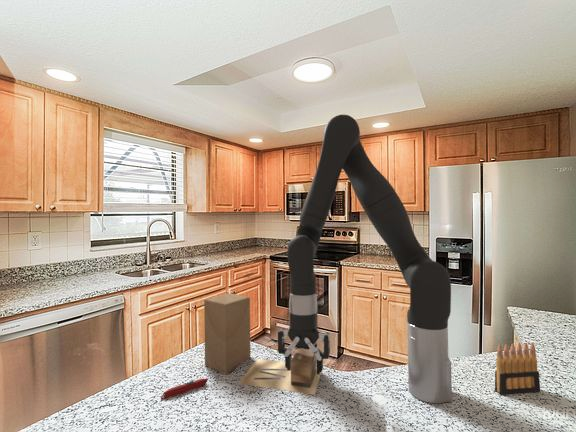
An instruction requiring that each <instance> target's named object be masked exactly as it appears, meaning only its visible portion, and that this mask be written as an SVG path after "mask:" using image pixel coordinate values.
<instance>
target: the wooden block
mask: <svg viewBox="0 0 576 432" xmlns="http://www.w3.org/2000/svg"><path fill="white" fill-rule="evenodd" d="M203 303H204V304H203V306H204V307H203V311H204V313H203V314H204V318H203V319H204V324H203V325H204V326H203V327H204V328H203V329H204V365H205V366H206V367H209V368H210V369H212V370H215V371H217V372H219V373H220V374H221V373H222V374H224V375H229V374H230V373H232V372H234V371H236V369H237V368H238V367H239V366H240V365H241V363H243V362H244V361H247V360H249V359H250V358H251V299H250V297H249V296H245V295H240V294H235V293H224V294H220V295H217V296H212V297H208V298H205V299H204V301H203Z"/></svg>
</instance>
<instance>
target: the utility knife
mask: <svg viewBox="0 0 576 432" xmlns="http://www.w3.org/2000/svg"><path fill="white" fill-rule="evenodd" d="M208 380H209V378H200V379H198V380H191V381H189V382H187V383H186V382H185V383H184V384H180V385H177V386H174V387H171V388H169V389H167V390H166V391H164V392H163V393H162V395H161V397H160V400H166V399H168V398H171V397H175V396H178V395H182V394H185V393H187V392H190V391H193V390H197V389H199V388H203V387H205V386H206V385H207V383H208Z"/></svg>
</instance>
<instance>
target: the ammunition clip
mask: <svg viewBox="0 0 576 432" xmlns="http://www.w3.org/2000/svg"><path fill="white" fill-rule="evenodd" d="M536 351H537V349H536V346H535V344H534V342H531V343H530V345H529V346H528V343H527V342H525V343H524V344H523V348H522V345H521V343H520V342H518V343H517V346H515V344H514V343H511V345H510V347H509V345H508V343H506V344H504V349H503V347H502V344H501V343H499V344H498V345H497V352H496V364H495V365H496V366H495V368H496V370H495V371H494V391H495V392H497V393H498V394H499V395H501V396H503V395H506V396H507V395H519V394H520V395H521V394H531V393H532V394H533V393H541V383H540V371H539V370H538V360H537V353H536Z"/></svg>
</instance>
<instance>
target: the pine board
mask: <svg viewBox="0 0 576 432" xmlns="http://www.w3.org/2000/svg"><path fill="white" fill-rule="evenodd" d="M321 374H322V372H320V374H317V365H316V373H315V376H314V379H313V382H312V385H311V387H310V388H308V387H301V386H294V385H291V370H290V371H288V370H287V368H286V367H285V361H281V360H280V361H279V360H278V361H277V360H270V359H263V358H257V359H256V361H255V362H254V363H253V364H252V366H251V367H250V368H249V369H248V371H247V372H246V373H245V374H244V376H242V378H241V379H240V380H239V381H238V384H239V385H246V386H252V387H259V388H267V389H272V390H279V391H280V390H281V391H289V392H293V393H300V394H301V393H302V394H310V395H315V394H316V391H317V388H318V385H319V382H320V378H321V376H322V375H321Z"/></svg>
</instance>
